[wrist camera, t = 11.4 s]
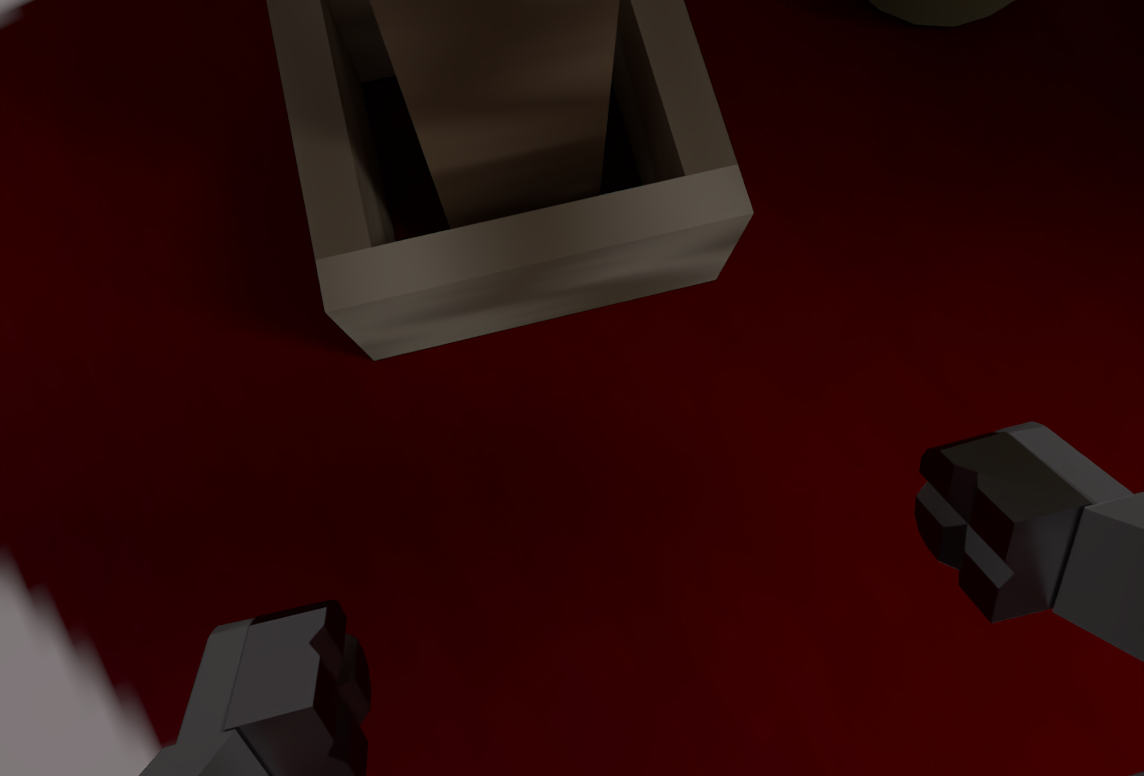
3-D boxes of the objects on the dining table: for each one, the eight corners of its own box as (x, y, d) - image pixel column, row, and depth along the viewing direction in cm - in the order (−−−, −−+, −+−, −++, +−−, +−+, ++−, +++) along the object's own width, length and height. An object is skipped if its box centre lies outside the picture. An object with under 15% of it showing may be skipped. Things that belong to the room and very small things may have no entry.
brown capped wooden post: (568, 81, 21) (573, -514, 9) (606, 218, 20) (668, -250, 8) (418, 113, 21) (227, -459, 9) (450, 253, 20) (285, -178, 8)
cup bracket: (625, -10, 22) (643, -165, 17) (715, 279, 20) (763, 195, 15) (312, 55, 21) (240, -86, 16) (374, 360, 19) (312, 299, 14)
